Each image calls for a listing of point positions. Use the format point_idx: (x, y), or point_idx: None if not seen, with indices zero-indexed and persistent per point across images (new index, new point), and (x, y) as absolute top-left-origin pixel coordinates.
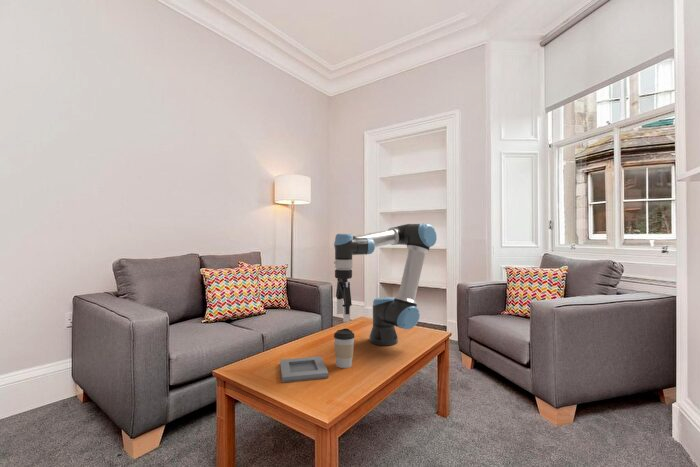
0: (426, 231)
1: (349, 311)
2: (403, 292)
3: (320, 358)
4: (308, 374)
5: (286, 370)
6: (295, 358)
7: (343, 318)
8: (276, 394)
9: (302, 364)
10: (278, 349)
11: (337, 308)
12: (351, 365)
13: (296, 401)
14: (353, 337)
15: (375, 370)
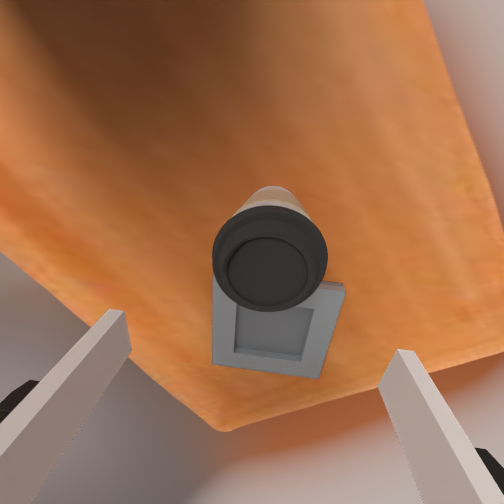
0: None
1: (482, 473)
2: None
3: None
4: (330, 334)
5: (284, 366)
6: (213, 336)
7: (394, 415)
8: (363, 384)
9: (242, 322)
10: None
11: (99, 394)
12: (289, 191)
13: None
14: (313, 224)
15: (368, 112)
